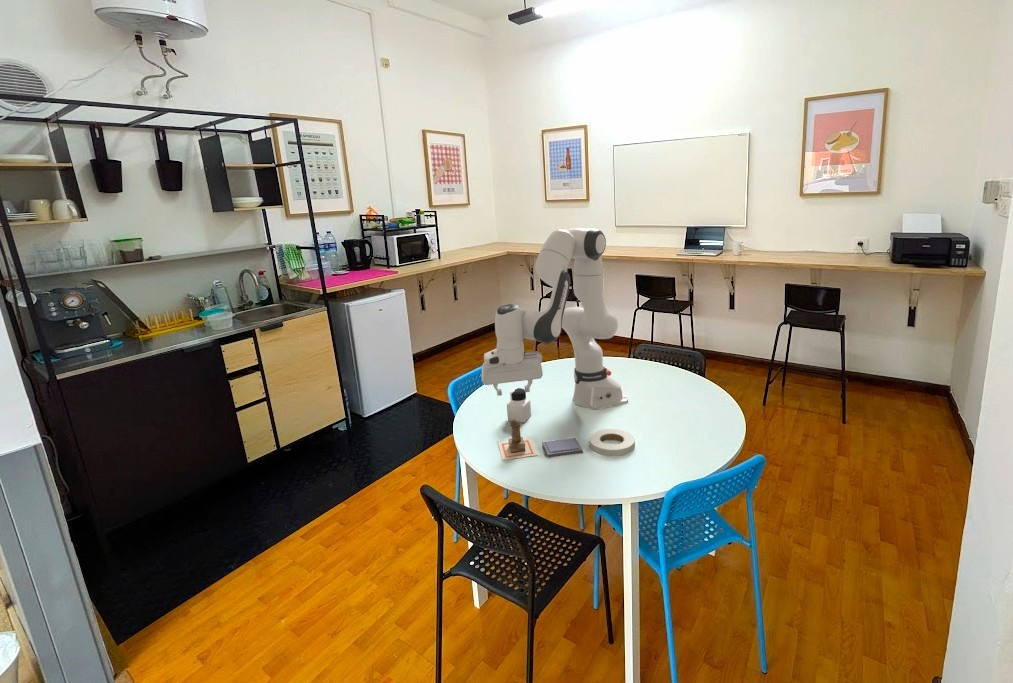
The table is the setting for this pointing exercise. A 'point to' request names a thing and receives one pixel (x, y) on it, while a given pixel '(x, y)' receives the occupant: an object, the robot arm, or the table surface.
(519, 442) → the walnut stamp
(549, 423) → the table surface
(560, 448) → the ink pad
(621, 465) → the table surface
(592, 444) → the roll of tape
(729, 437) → the table surface
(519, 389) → the medicine bottle
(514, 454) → the tan card
